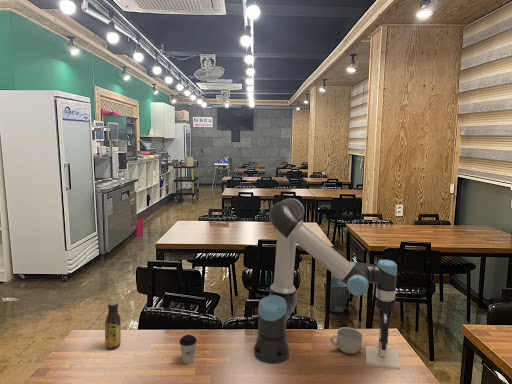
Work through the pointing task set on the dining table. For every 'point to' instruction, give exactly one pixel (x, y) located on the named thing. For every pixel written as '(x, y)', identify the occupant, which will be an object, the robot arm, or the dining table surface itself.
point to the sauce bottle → (113, 327)
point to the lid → (377, 360)
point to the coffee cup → (188, 348)
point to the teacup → (348, 340)
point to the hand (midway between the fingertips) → (382, 350)
